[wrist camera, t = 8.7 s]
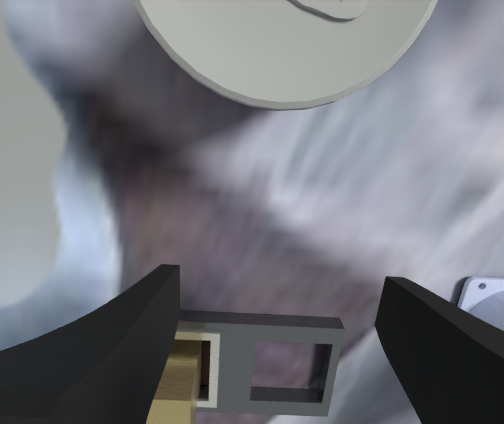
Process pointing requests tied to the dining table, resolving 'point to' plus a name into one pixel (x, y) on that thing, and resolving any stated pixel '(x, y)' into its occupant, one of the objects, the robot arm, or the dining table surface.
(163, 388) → the brass block
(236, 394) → the grey double window frame
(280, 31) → the canned food
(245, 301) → the dining table surface
